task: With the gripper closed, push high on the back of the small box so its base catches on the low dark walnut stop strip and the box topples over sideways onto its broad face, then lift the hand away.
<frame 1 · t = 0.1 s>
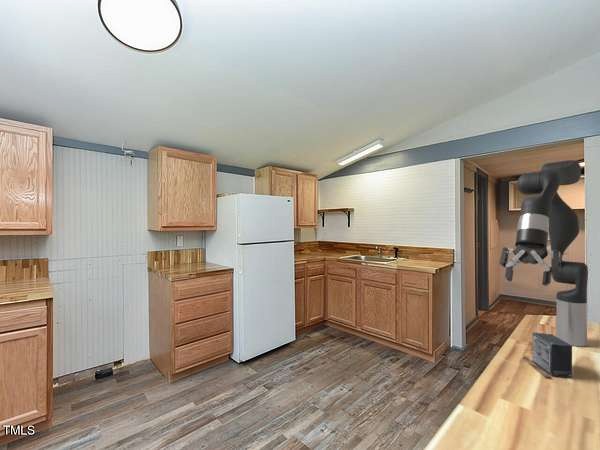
hand: (526, 282, 86), 31 cm above the countertop, tool tilted 20°, fingers open, 8 cm apart
stop strip: (535, 367, 99), on the countertop
small box: (551, 370, 98), on the countertop
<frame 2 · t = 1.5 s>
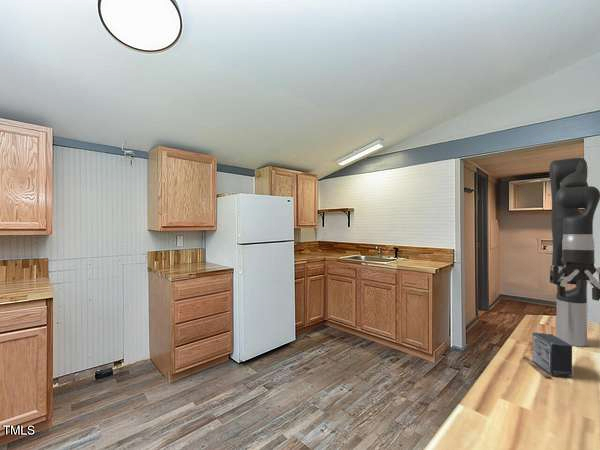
hand: (578, 299, 94), 25 cm above the countertop, tool pointing down, fingers open, 8 cm apart
nothing on the countertop moved.
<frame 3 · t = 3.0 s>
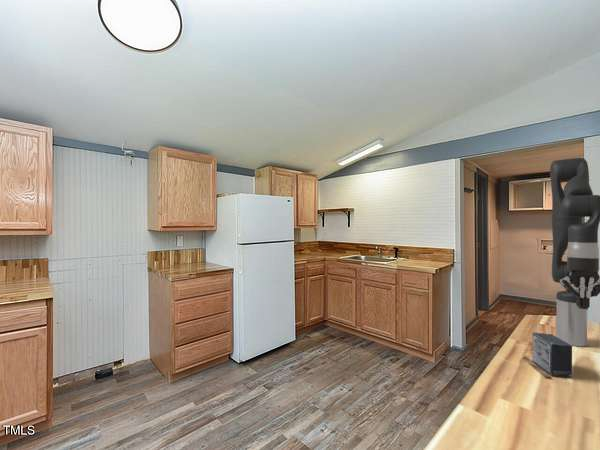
hand: (582, 308, 96), 21 cm above the countertop, tool pointing down, fingers closed
nothing on the countertop moved.
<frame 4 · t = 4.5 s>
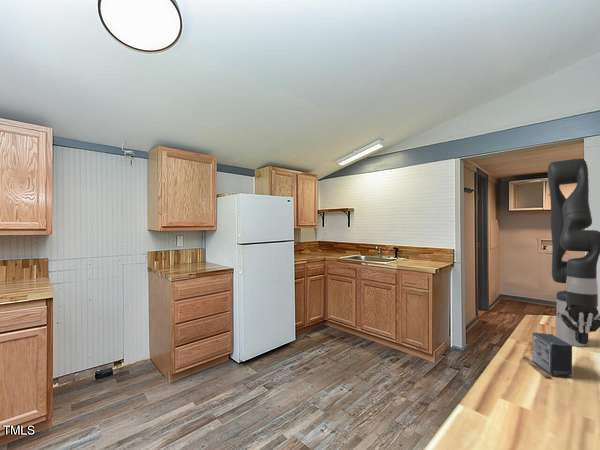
hand: (581, 343, 96), 10 cm above the countertop, tool pointing down, fingers closed
nothing on the countertop moved.
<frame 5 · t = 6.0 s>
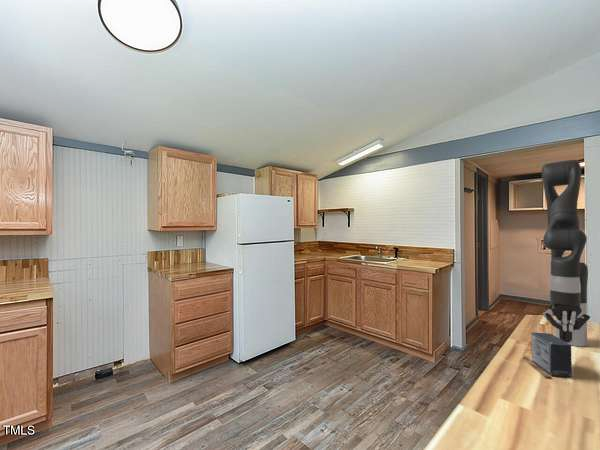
hand: (565, 341, 97), 10 cm above the countertop, tool pointing down, fingers closed
small box: (551, 369, 98), on the countertop, touching gripper
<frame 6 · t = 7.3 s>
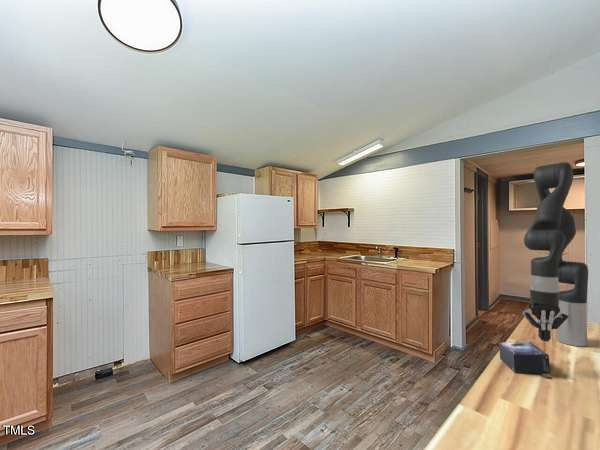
hand: (544, 340, 98), 10 cm above the countertop, tool pointing down, fingers closed
small box: (541, 356, 98), point 4 cm above the countertop, touching stop strip
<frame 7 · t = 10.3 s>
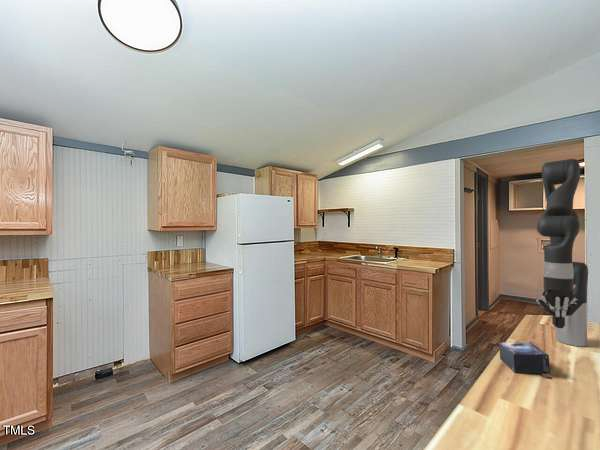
hand: (558, 327, 97), 14 cm above the countertop, tool pointing down, fingers closed
nothing on the countertop moved.
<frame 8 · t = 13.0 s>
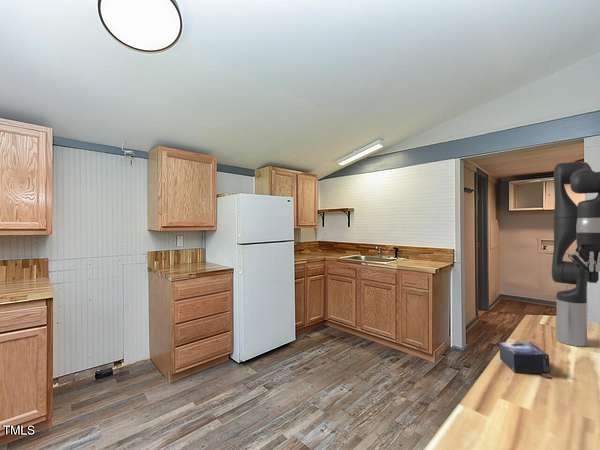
hand: (591, 282, 98), 29 cm above the countertop, tool pointing down, fingers closed
nothing on the countertop moved.
at the end: small box tilted 95°; small box inside the target area (0.6 cm from its centre), point 4.0 cm above the countertop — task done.
